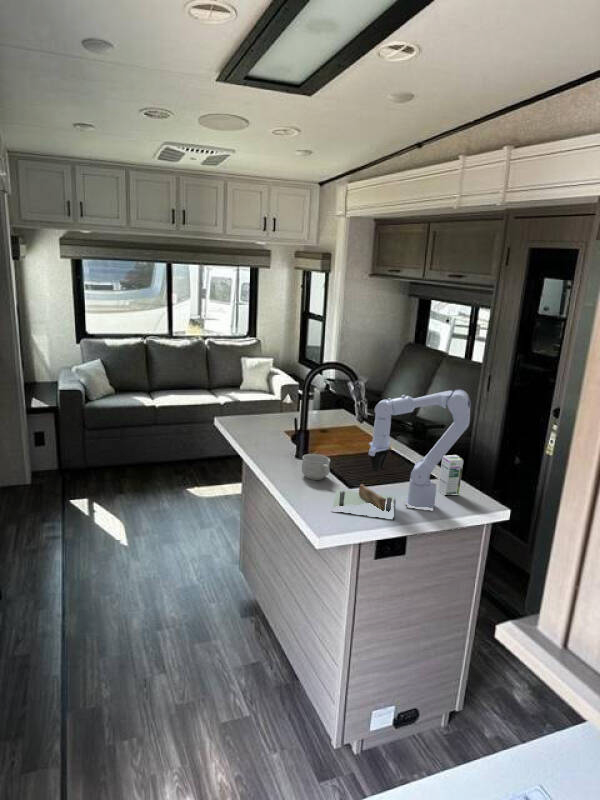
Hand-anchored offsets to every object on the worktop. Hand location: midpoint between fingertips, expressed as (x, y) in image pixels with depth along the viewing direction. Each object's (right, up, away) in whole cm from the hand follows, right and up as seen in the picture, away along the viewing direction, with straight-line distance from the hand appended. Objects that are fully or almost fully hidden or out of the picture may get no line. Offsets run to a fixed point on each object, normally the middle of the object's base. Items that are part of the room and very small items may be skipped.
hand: (377, 469), depth 199 cm
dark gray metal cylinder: (-6, -13, -9) cm, 17 cm away
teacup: (-21, -6, +15) cm, 27 cm away
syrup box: (+28, -10, +10) cm, 32 cm away
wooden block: (-3, -11, -5) cm, 12 cm away
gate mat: (-5, -12, -5) cm, 14 cm away
